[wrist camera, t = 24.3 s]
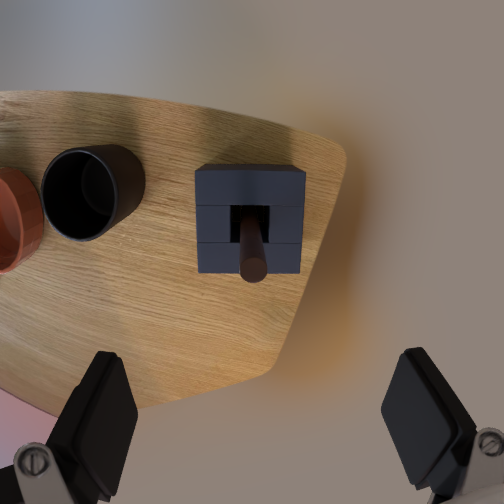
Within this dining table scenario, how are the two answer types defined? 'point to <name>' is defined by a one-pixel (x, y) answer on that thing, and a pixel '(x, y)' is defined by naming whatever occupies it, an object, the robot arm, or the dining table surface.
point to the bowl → (18, 219)
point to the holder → (249, 193)
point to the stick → (251, 246)
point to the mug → (91, 190)
